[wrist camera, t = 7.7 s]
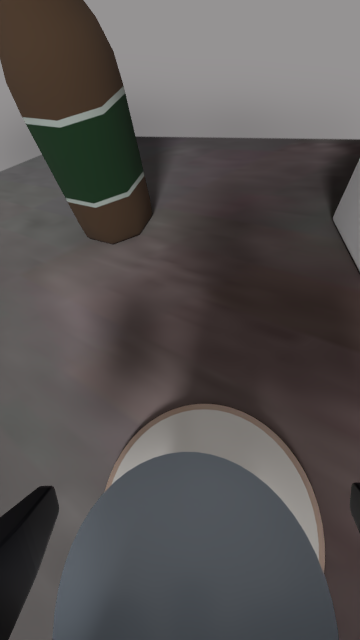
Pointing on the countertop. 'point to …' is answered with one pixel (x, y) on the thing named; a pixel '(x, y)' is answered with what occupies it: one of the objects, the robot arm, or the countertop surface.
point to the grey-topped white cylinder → (192, 560)
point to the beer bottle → (76, 112)
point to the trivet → (230, 455)
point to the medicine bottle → (350, 216)
